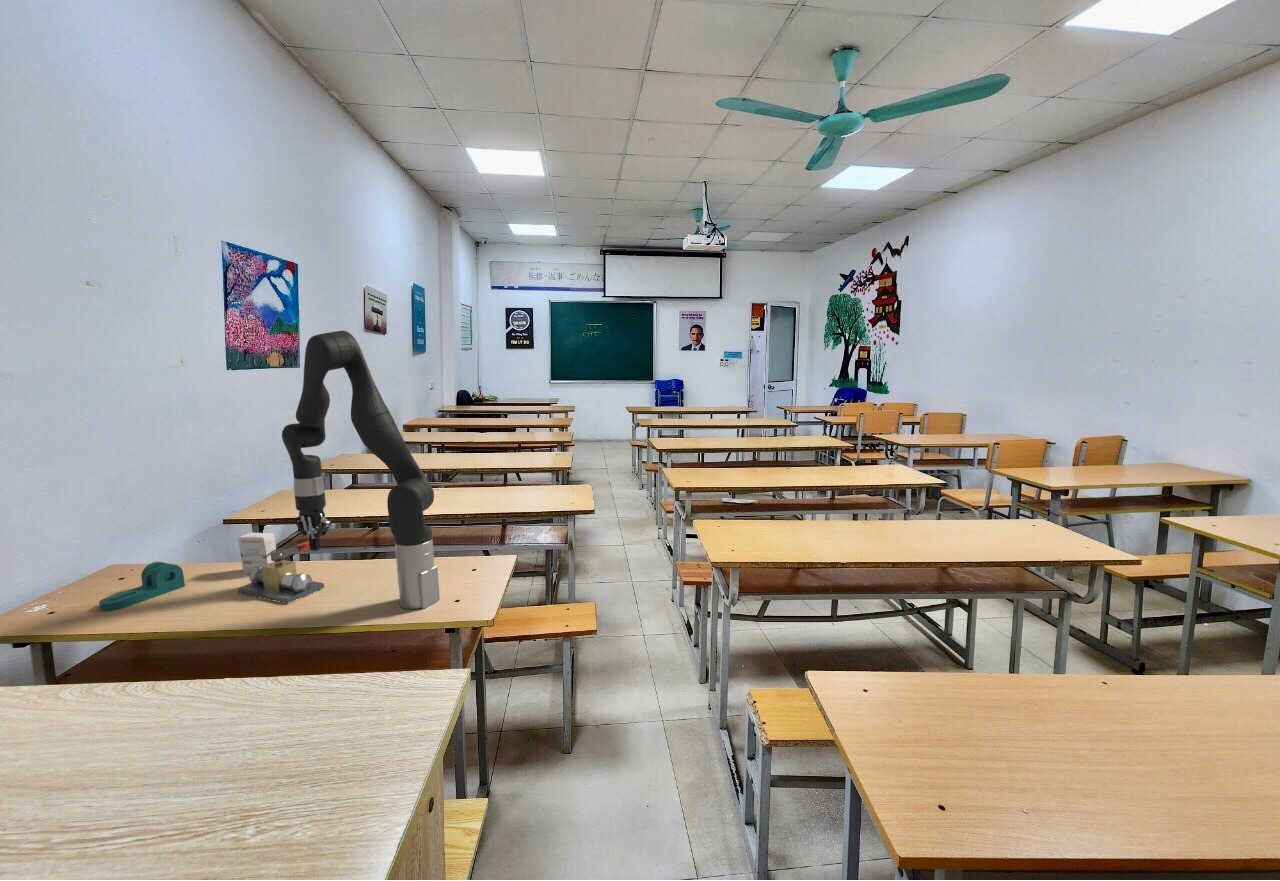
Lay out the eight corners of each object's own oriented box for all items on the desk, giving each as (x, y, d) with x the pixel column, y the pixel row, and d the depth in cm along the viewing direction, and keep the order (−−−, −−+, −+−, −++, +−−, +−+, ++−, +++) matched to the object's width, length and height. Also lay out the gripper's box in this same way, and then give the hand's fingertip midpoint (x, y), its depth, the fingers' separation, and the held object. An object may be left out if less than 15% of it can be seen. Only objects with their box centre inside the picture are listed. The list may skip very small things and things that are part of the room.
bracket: (170, 583, 169) (166, 558, 168) (185, 587, 166) (181, 561, 165) (94, 609, 152) (89, 581, 151) (109, 613, 150) (104, 585, 149)
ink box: (279, 568, 179) (275, 532, 178) (268, 574, 175) (263, 537, 173) (254, 567, 180) (249, 531, 178) (241, 573, 175) (237, 536, 174)
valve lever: (316, 547, 171) (316, 541, 170) (276, 561, 159) (275, 555, 159) (309, 545, 172) (308, 539, 172) (268, 560, 160) (267, 554, 160)
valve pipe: (324, 588, 164) (321, 557, 163) (288, 604, 154) (284, 571, 152) (275, 578, 171) (272, 549, 170) (238, 593, 161) (234, 562, 160)
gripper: (281, 493, 163) (287, 551, 166) (314, 497, 159) (320, 557, 161) (305, 487, 170) (310, 543, 173) (337, 491, 165) (343, 548, 168)
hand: (315, 549), depth 167 cm, fingers closed
